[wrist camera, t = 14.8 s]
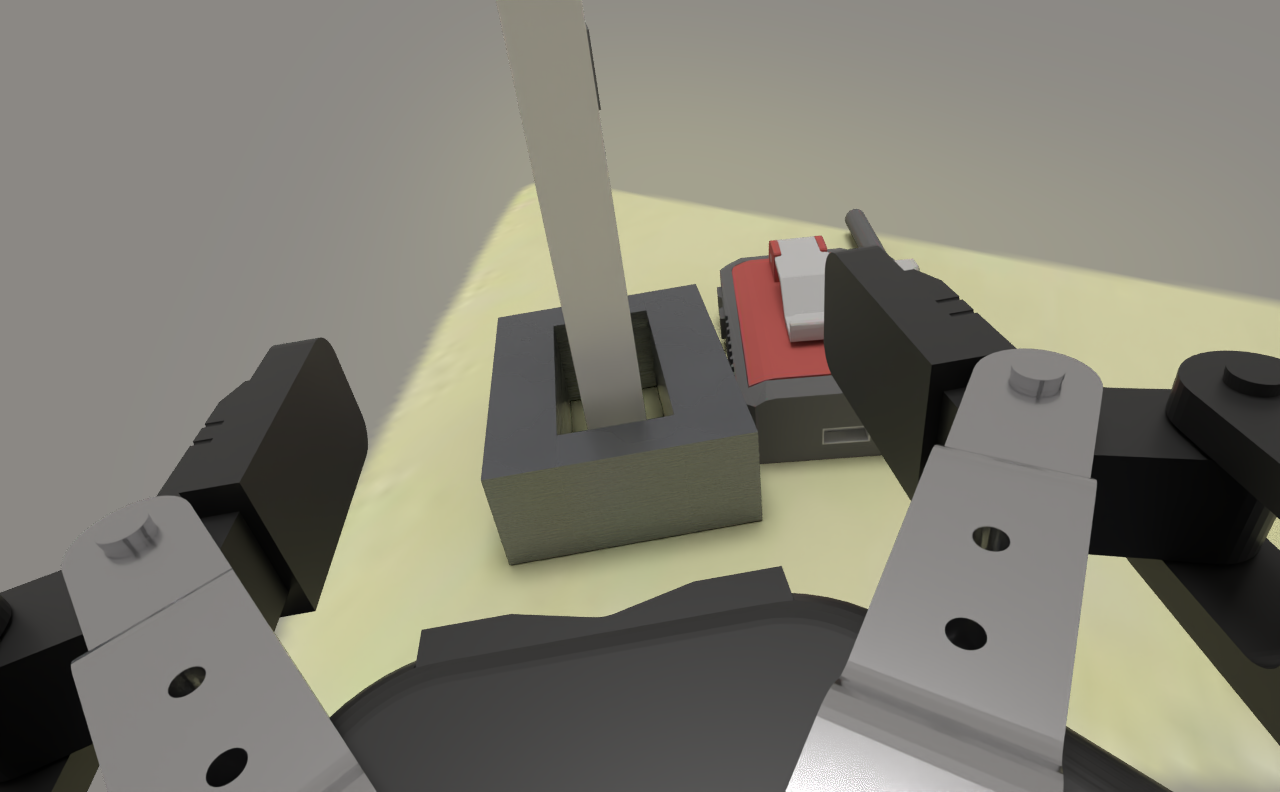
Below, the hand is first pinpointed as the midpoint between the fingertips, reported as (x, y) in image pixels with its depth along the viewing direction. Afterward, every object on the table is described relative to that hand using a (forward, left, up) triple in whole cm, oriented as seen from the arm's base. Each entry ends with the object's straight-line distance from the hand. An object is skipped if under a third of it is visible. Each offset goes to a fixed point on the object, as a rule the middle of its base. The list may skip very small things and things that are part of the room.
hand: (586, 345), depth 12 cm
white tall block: (+6, -10, -10) cm, 16 cm away
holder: (+5, -9, -10) cm, 15 cm away
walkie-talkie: (0, -19, -11) cm, 22 cm away
